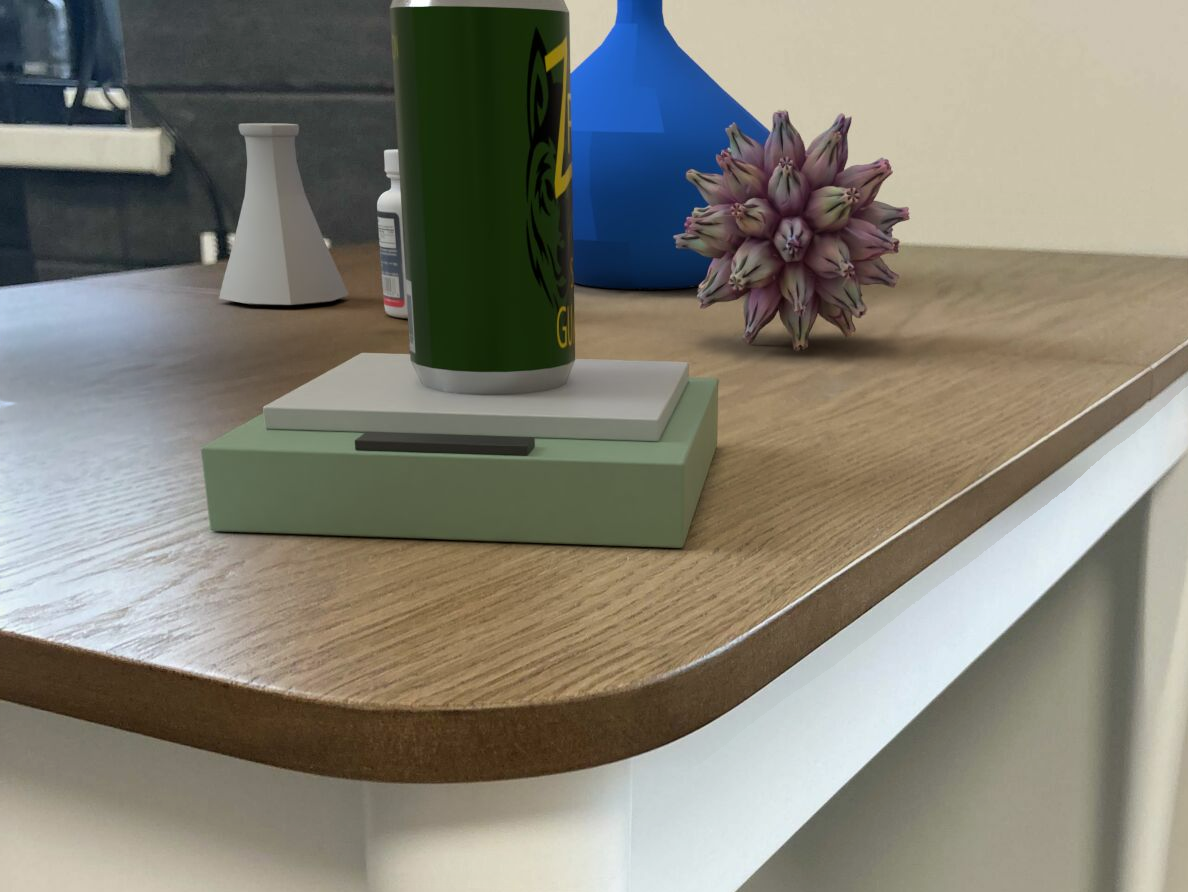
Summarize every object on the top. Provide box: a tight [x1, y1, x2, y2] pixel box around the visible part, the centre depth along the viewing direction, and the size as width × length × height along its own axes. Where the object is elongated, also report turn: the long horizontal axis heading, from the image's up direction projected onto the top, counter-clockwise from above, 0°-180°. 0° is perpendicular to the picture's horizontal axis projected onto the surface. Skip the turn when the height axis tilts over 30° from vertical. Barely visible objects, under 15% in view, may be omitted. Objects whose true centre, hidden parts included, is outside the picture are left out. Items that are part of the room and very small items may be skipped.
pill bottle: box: [376, 148, 408, 320], centre depth 86 cm, size 5×5×9 cm
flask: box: [218, 122, 349, 306], centre depth 90 cm, size 7×7×10 cm
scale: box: [200, 352, 719, 549], centre depth 50 cm, size 14×14×3 cm
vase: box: [570, 0, 771, 291], centre depth 101 cm, size 18×18×19 cm
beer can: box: [389, 0, 576, 395], centre depth 47 cm, size 5×5×12 cm
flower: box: [674, 109, 910, 352], centre depth 77 cm, size 12×12×12 cm
